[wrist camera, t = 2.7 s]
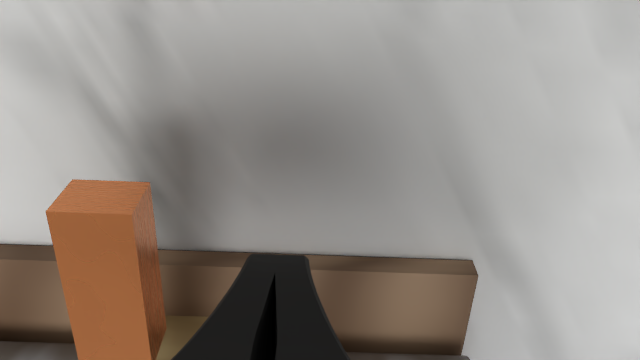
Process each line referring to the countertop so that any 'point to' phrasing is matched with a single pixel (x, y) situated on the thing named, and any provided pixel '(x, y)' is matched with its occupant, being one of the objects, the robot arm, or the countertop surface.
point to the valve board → (217, 277)
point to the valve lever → (109, 268)
